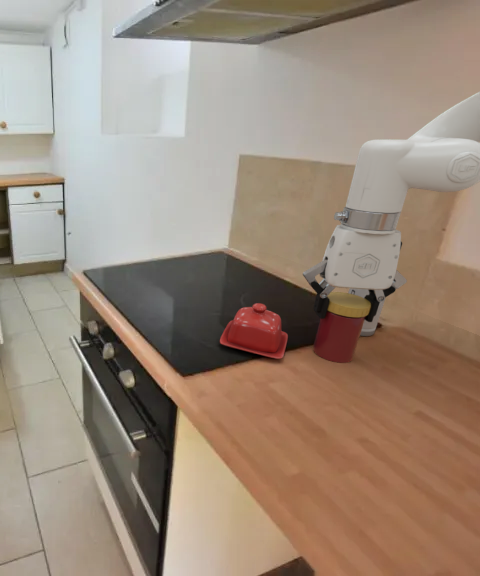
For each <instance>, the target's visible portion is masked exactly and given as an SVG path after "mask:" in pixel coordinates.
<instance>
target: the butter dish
mask: <svg viewBox="0 0 480 576" xmlns="http://www.w3.org/2000/svg"><path fill="white" fill-rule="evenodd" d="M288 338H289V335H288V333H287V332H285V331H282V319H281V315H279V314H277V312H276V313H275V312H273V311H271V310H268V309H267V306H266V305H265V304H264V303H260V302H258V303H257V302H256V303H254V304H252V306H245V307H241V308H239V309H238V311H236V313H235V315H234V317H233V320H230V321H229V322H228V323H227V325H226V327H225V328H224V330H223V332H222V334H221V336H220V339H219V344H221V345H222V346H225V347H229V348H232V349H236V350H240V351H243V352H247V353H251V354H256V355H258V356H263V357H268V358H272V359H275V360H276V359H277V360H281V359H283V358H284V355H285V353H286V347H287V343H288Z"/></svg>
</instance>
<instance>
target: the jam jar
mask: <svg viewBox="0 0 480 576" xmlns="http://www.w3.org/2000/svg"><path fill="white" fill-rule="evenodd" d="M365 317H366V316H364V317H347V316H342V315H338V314H335V313H332V312H330V311H328V310H327V313H326V317H325V318H324V319H320V318H319V322H318V326H317V330H316V334H315V339H314V342H313V346H312V351H313V353H314V354H315V355H317V356H318V357H320V358H322V359H324V360H326V361H330V362H333V363H340V364H344V363H345V364H346V363H350V362H352V361H353V360H354V357H355V354H356V350H357V347H358V343H359V340H360V337H361V336H360V334H361V330H362V327H363V324H364V320H365Z"/></svg>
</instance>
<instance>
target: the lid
mask: <svg viewBox="0 0 480 576" xmlns="http://www.w3.org/2000/svg"><path fill="white" fill-rule="evenodd" d="M328 298H329V300H330V301H329V305H328V309H327V310H328V311H330V312H332V313H335V314H338V315H342V316H347V317H364V316H367V315H368V314H369V311H370V308H371V303H370V302H369V301H368V300H367V299H365V298H363V297H360V296H357V295H354V294H350V293H348V292H343V291H332V292H331V293H330V294H329V295H328Z"/></svg>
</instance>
